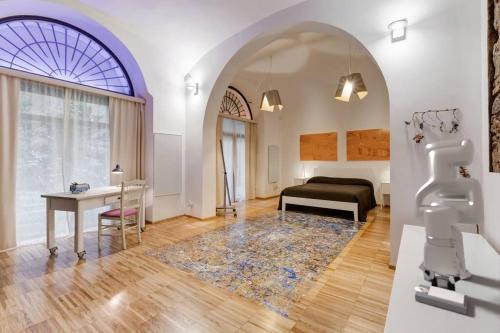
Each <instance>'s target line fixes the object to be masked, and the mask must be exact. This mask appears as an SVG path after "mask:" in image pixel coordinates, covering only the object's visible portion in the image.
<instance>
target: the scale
mask: <svg viewBox="0 0 500 333" xmlns="http://www.w3.org/2000/svg"><path fill="white" fill-rule="evenodd" d="M414 290H415V291H416V292H415V294H414V298H415V299H414V300H415V301H416V302H419V303H423V304H426V305H431V306H433V307H437V308H440V309H444V310H448V311H451V312H454V313H458V314H463V315H465V316H466V315H467V309H468V295H467V294H465V293H463V292H459V291H456V290H455V291H451V290H446V289H442V288H438V287H434V286H431V285H430V286H428V285H424V284H419V285H418V286H415V287H414Z"/></svg>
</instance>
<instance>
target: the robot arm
mask: <svg viewBox="0 0 500 333" xmlns="http://www.w3.org/2000/svg"><path fill="white" fill-rule="evenodd" d="M474 153H475V144H474V141H473V140H472V139H471V138H466V137H465V138H456V139H449V140H447V139H446V140H441V141H440V140H438V141H433V142H430V143H427V144H426V145H425V146H424V155H425V157H426V163H427V164H426V169H427V170H426V182H425V183H424V184H423V185H422V186H421V187H420V188H419V189H418V190H417V192H416V193H415V195H414V200H413V216H414V219H415V220H416V221H417V222H418V223H421V224H424V227H425V229H424V230H425V241H426V242H424V246H423V261H422V262H421V263H420V264H419V266H418V269H419V270H421V271H422V272H423V271H424V272H425V273H426V274H427V275H428V276H429V277H430V279H431V282H430V284H431V285H430V287H431V286H434V287H436V278H435V276H434V275H436V274H438V275H439V276H445V277H447V278H449V281H450V282H449V288H450V290H451V291H455V292H456V285H455V284H456V283H457V282H458V283H459V281H462V280H467V279H470V278H472V273H471V272H470V271H469V270H467V269H466V259H465V258H466V257H465V249H464V238H463V237H464V236H463V234H462V231H461V229H459V227H457V226H456V225H457V224H464V225H481V224H483V222H484V220H485V212H484V199H483V190H482V186H481V185H482V184H481V183H480V181H479V180H478V178H477V179H476V178H474V177H458V169H457V167H469V166H470V165H471V164H472V163H473V161H474ZM432 193H433V194H434V196H435V197H436V198H438V199H444V200H434V201H432V202H431V203H430V204H424V200H425V198H427V196H429V195H430V194H432Z"/></svg>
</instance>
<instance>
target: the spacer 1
mask: <svg viewBox="0 0 500 333" xmlns="http://www.w3.org/2000/svg"><path fill="white" fill-rule="evenodd" d="M422 272H423V280H424V281H426V282H429V283H431V279H430V277H429V276H428V275H427V274H426V273H425V272H424V271H422ZM434 276H437V275H436V274H435V275H434Z"/></svg>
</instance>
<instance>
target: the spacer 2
mask: <svg viewBox="0 0 500 333" xmlns="http://www.w3.org/2000/svg"><path fill="white" fill-rule="evenodd" d="M435 278H436V287H438V288H442V289H446V290H450V288H449V282H450V278H449V277H446V276H443V275H436V276H435Z"/></svg>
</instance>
